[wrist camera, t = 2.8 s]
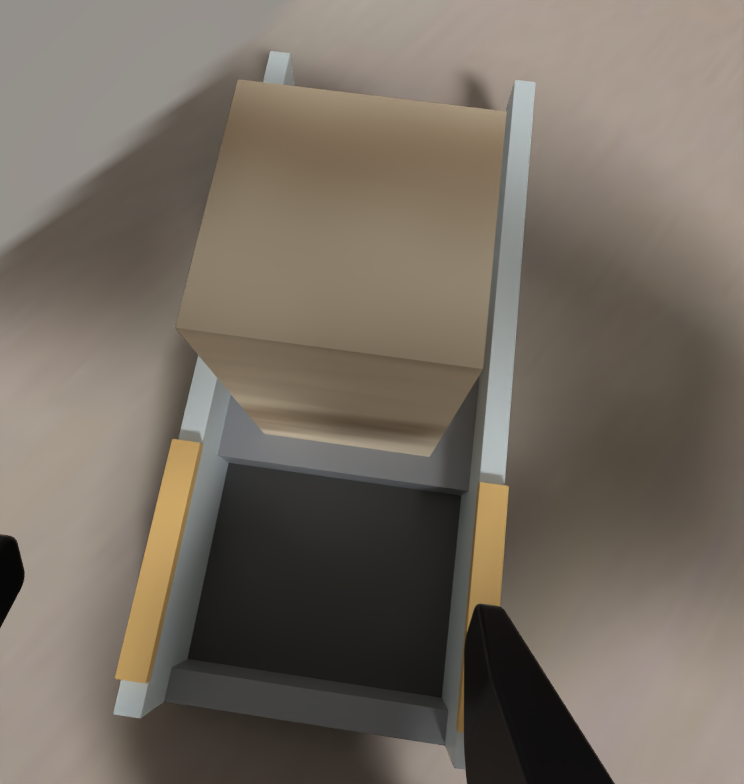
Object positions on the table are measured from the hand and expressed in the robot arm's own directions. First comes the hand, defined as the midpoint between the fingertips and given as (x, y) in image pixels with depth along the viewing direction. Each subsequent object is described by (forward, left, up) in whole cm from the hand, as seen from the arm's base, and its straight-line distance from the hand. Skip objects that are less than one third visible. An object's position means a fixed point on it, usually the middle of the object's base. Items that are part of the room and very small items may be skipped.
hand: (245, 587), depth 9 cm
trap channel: (0, -7, -13) cm, 15 cm away
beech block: (0, -7, -11) cm, 13 cm away
